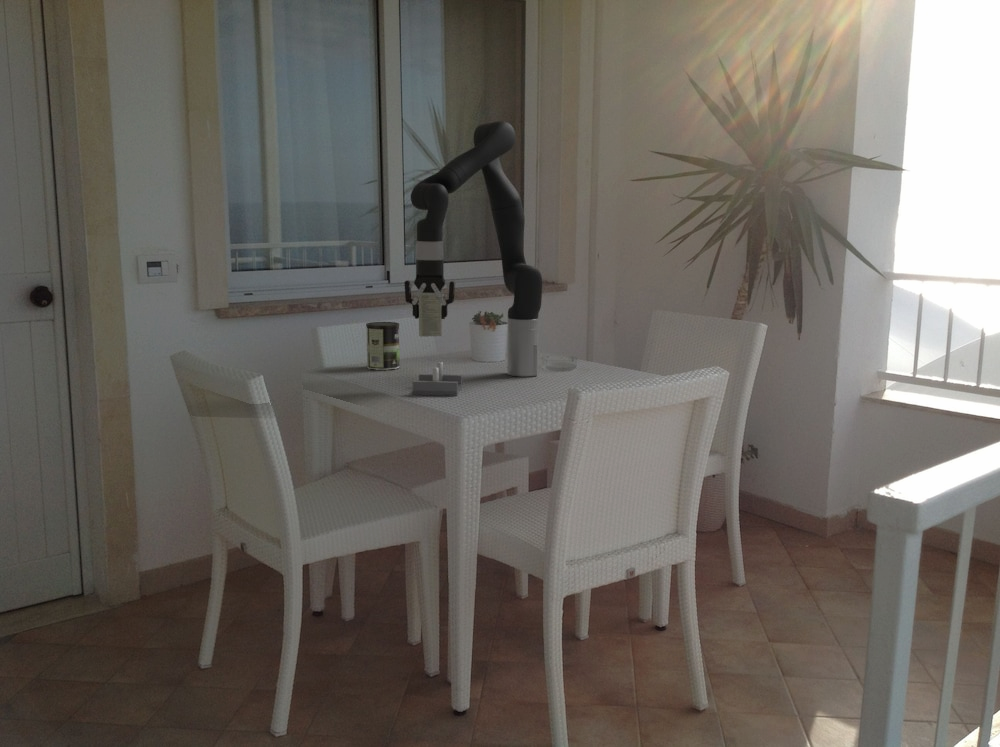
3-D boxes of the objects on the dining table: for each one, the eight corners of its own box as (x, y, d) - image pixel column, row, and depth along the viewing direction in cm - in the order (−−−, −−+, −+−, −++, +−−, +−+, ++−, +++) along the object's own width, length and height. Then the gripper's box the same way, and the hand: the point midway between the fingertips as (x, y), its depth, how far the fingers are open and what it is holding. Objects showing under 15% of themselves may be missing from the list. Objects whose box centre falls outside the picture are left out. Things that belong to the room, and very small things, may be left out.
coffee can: (400, 365, 302) (399, 321, 299) (399, 370, 292) (398, 325, 289) (367, 365, 301) (367, 321, 299) (365, 370, 291) (364, 325, 288)
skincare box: (440, 334, 264) (440, 291, 261) (441, 336, 259) (441, 292, 257) (418, 334, 263) (418, 291, 261) (418, 336, 258) (418, 292, 256)
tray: (461, 387, 266) (461, 362, 265) (457, 395, 254) (457, 369, 253) (419, 386, 267) (419, 361, 266) (412, 394, 255) (412, 368, 254)
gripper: (457, 257, 260) (457, 317, 263) (406, 257, 262) (407, 316, 264) (453, 259, 253) (453, 320, 256) (401, 258, 254) (401, 319, 257)
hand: (429, 318), depth 260 cm, fingers closed on skincare box, 7 cm apart
